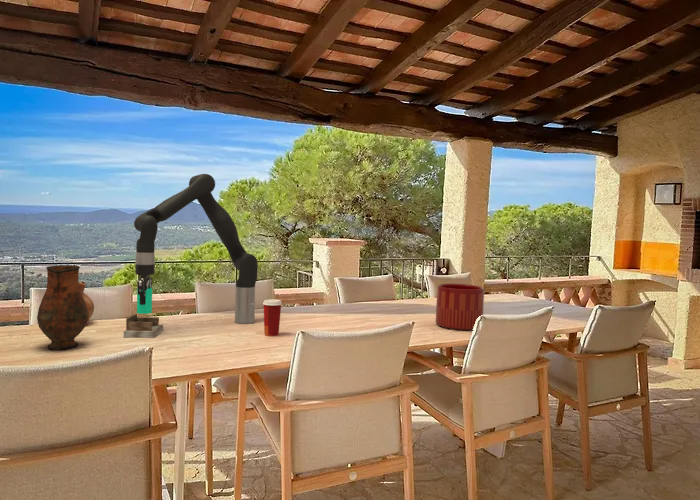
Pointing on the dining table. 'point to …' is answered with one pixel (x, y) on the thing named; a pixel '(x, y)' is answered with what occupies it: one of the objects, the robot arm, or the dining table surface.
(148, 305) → the candle
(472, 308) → the planter
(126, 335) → the dock
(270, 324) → the coffee cup
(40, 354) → the dining table surface
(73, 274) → the pitcher
